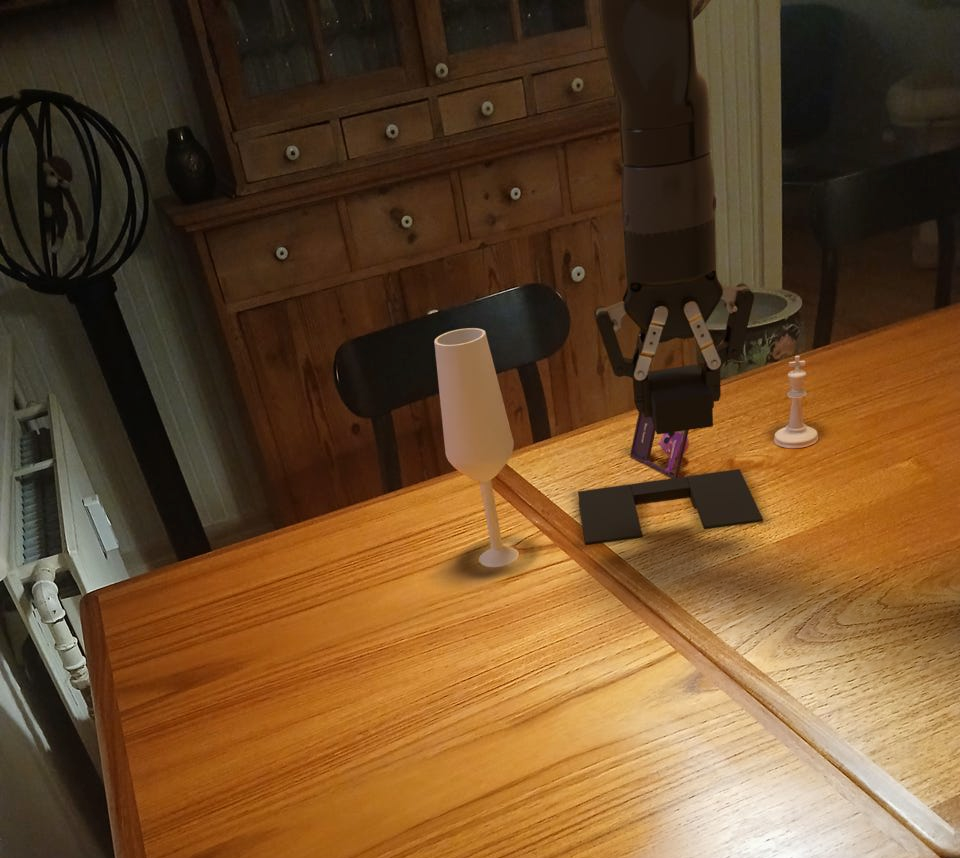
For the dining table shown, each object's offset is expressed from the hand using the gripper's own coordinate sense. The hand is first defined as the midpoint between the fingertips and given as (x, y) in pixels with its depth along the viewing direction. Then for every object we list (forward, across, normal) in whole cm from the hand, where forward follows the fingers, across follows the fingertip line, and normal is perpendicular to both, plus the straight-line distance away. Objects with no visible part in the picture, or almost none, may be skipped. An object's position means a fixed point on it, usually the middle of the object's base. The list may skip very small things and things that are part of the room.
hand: (677, 409), depth 91 cm
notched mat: (+15, +1, -8) cm, 17 cm away
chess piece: (+15, -17, -21) cm, 31 cm away
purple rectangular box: (+15, -2, -21) cm, 26 cm away
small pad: (0, 0, 0) cm, 0 cm away
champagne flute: (+15, +19, -2) cm, 24 cm away
